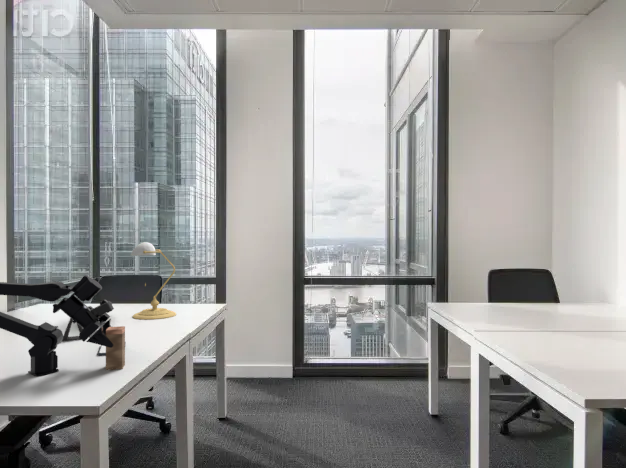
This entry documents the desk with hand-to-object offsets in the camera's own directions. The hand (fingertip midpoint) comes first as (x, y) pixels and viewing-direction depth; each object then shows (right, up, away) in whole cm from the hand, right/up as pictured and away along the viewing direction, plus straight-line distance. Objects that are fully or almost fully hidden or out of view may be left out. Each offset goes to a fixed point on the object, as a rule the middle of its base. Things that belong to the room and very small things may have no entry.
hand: (115, 343), depth 143 cm
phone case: (-11, -9, +22) cm, 26 cm away
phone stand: (-36, -8, +40) cm, 54 cm away
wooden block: (0, -8, 0) cm, 8 cm away
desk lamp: (-21, -8, +92) cm, 95 cm away
